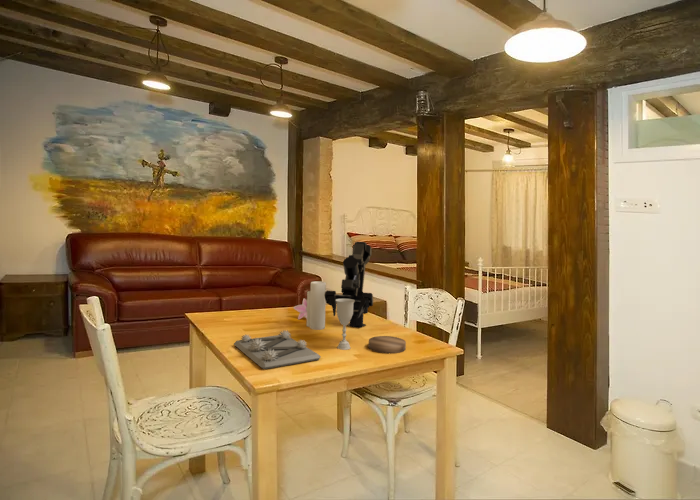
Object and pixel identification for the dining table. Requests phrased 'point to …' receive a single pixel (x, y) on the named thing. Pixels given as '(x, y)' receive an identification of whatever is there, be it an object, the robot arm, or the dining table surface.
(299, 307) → the lily
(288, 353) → the decorative plate
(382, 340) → the walnut pedestal
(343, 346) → the chalice
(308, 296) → the vase
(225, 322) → the dining table surface
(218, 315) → the dining table surface
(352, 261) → the robot arm
